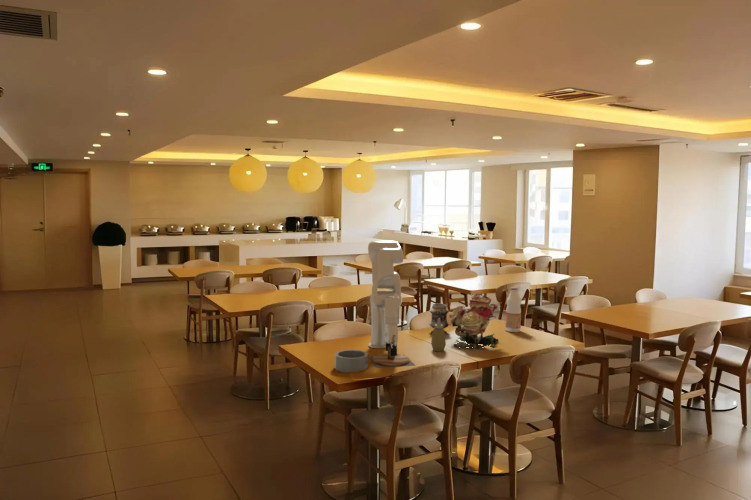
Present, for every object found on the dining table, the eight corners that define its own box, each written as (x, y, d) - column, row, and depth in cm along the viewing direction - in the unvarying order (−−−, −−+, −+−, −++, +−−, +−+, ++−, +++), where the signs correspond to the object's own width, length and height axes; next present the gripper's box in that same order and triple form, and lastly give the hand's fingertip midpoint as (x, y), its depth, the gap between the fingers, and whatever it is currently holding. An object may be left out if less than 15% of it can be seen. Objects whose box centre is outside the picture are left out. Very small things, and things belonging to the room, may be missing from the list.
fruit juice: (509, 332, 362) (510, 289, 359) (502, 329, 371) (504, 286, 369) (523, 332, 364) (524, 288, 362) (516, 328, 373) (517, 286, 371)
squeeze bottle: (432, 347, 322) (433, 316, 321) (446, 349, 320) (447, 317, 319) (429, 351, 315) (430, 319, 313) (444, 352, 312) (445, 320, 311)
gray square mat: (367, 357, 301) (367, 356, 301) (404, 355, 305) (404, 354, 305) (376, 368, 281) (376, 367, 281) (415, 366, 286) (415, 365, 286)
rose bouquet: (449, 337, 346) (450, 289, 344) (498, 340, 341) (500, 291, 338) (446, 348, 321) (447, 296, 319) (499, 352, 316) (501, 298, 313)
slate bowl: (332, 364, 288) (332, 350, 287) (363, 362, 292) (363, 349, 291) (338, 373, 273) (338, 359, 272) (370, 371, 276) (370, 357, 276)
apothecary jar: (438, 329, 368) (438, 302, 367) (452, 332, 359) (453, 304, 358) (425, 332, 360) (425, 304, 358) (439, 335, 351) (440, 307, 350)
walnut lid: (368, 356, 300) (369, 343, 300) (403, 355, 305) (403, 341, 304) (377, 367, 282) (377, 353, 281) (414, 365, 286) (414, 351, 286)
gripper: (380, 317, 299) (379, 349, 300) (389, 324, 282) (388, 358, 284) (394, 316, 301) (393, 348, 302) (403, 323, 284) (403, 357, 285)
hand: (391, 353), depth 293 cm, fingers open, 9 cm apart
